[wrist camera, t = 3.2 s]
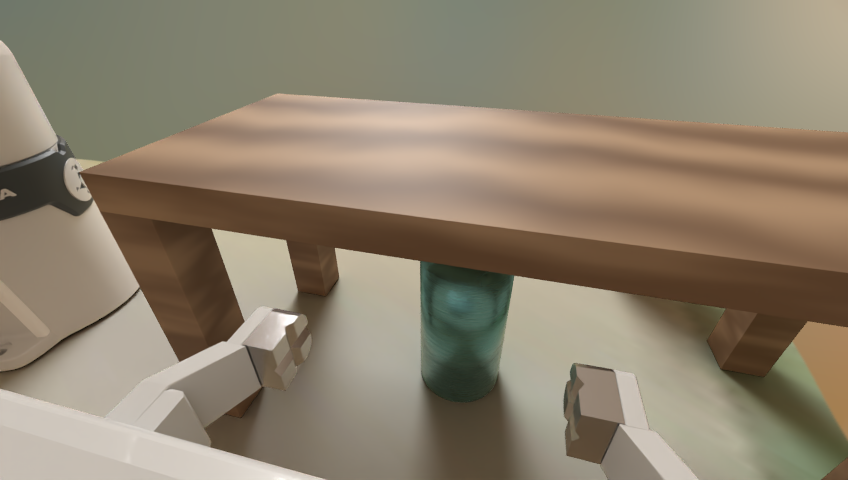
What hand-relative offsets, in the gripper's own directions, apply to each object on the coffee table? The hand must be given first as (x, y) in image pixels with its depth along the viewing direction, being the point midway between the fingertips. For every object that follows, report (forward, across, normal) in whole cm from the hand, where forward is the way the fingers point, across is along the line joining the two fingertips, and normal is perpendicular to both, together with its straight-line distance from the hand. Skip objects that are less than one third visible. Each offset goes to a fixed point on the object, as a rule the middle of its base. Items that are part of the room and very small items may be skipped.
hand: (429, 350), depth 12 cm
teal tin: (+12, +1, +16) cm, 20 cm away
